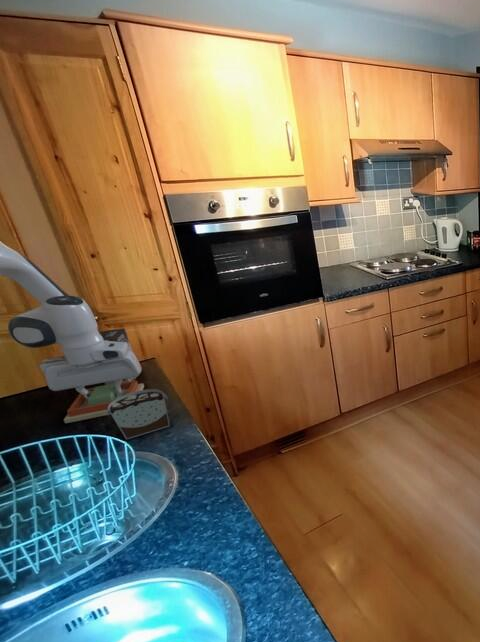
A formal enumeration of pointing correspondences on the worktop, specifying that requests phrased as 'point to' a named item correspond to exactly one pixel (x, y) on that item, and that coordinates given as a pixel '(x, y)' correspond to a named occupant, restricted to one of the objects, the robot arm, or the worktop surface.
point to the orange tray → (85, 411)
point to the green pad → (102, 395)
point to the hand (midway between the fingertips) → (104, 395)
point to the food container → (140, 412)
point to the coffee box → (117, 336)
